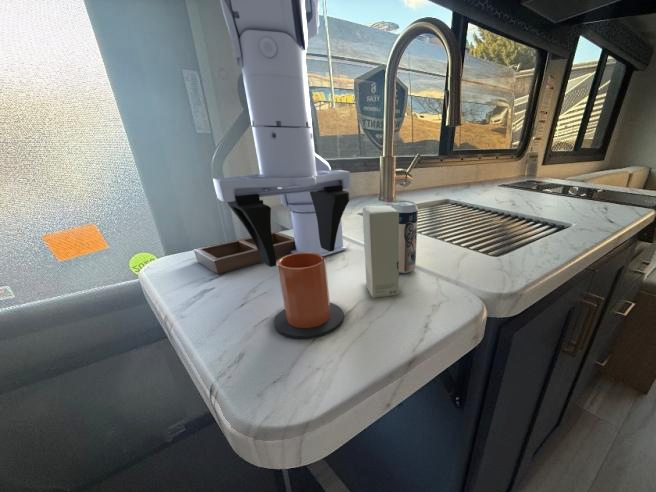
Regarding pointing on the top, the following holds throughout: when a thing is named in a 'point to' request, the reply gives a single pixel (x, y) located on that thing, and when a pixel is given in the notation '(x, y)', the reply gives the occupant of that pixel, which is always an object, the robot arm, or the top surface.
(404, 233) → the beer can
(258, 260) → the cup holder
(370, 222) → the box
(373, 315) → the top surface
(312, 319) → the cup
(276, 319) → the coaster
